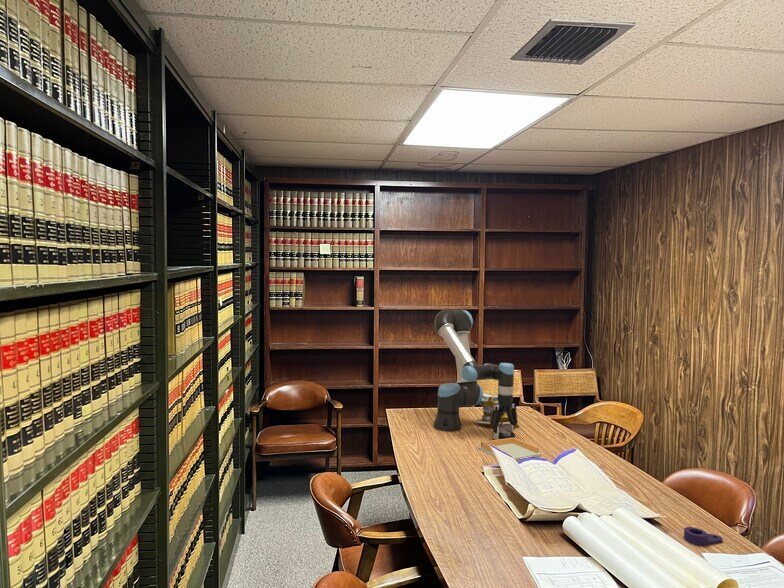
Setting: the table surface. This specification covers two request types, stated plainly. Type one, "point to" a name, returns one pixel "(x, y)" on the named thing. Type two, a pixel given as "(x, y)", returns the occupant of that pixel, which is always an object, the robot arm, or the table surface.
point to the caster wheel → (505, 431)
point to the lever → (700, 537)
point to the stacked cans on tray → (490, 409)
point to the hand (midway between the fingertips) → (503, 438)
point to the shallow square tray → (511, 447)
